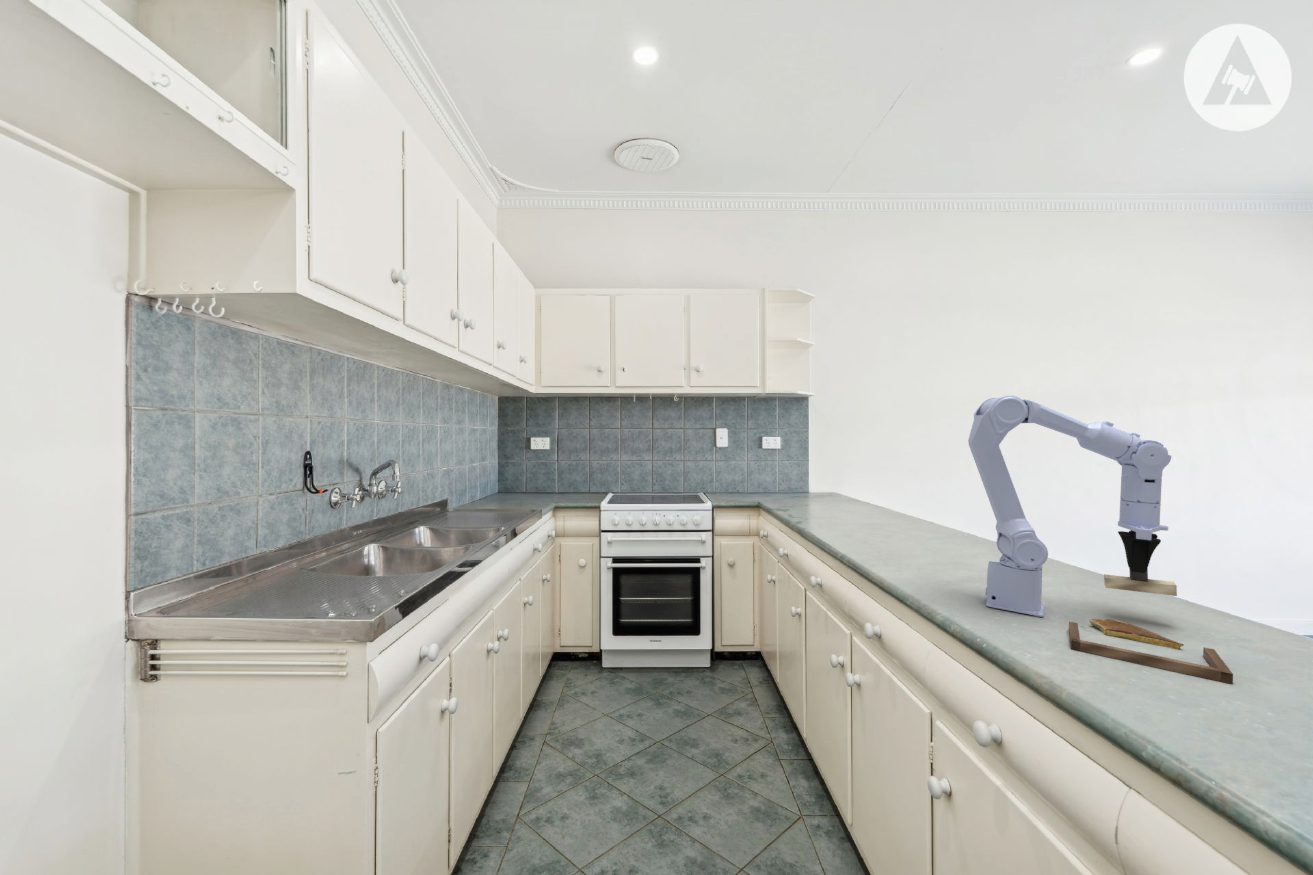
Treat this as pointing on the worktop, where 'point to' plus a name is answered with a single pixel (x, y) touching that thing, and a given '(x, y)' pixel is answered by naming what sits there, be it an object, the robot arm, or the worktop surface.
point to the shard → (1132, 633)
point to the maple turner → (1140, 584)
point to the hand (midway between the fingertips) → (1136, 570)
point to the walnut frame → (1156, 658)
